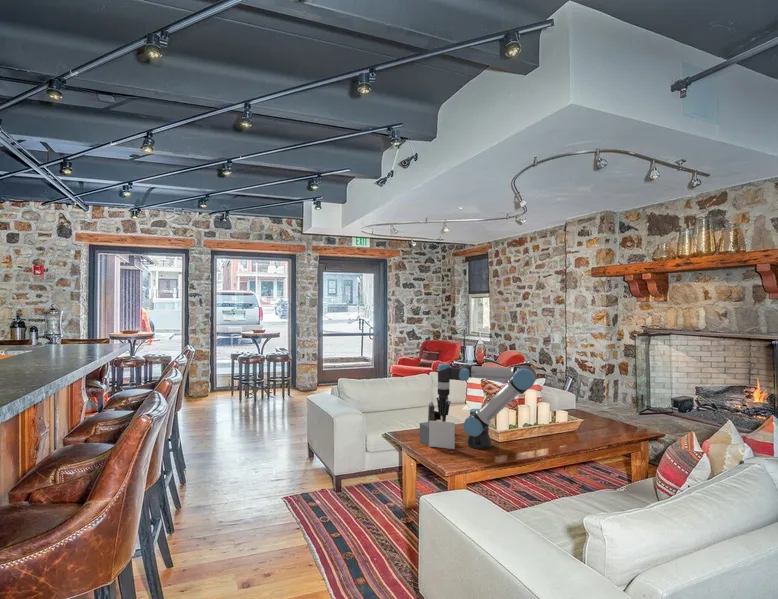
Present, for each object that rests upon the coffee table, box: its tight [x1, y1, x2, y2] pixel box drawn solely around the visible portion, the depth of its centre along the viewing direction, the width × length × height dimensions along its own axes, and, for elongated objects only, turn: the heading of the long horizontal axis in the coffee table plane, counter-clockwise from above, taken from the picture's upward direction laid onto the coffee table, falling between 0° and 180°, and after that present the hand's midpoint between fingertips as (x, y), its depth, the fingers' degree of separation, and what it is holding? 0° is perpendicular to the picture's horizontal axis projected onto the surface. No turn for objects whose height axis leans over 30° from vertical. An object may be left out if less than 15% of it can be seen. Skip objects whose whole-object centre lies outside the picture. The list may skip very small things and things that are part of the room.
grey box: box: [419, 420, 441, 448], centre depth 303 cm, size 12×18×13 cm
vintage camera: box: [427, 401, 441, 422], centre depth 328 cm, size 10×16×20 cm, turn 89°
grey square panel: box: [428, 421, 456, 450], centre depth 291 cm, size 16×1×16 cm, turn 72°
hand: (443, 425), depth 293 cm, fingers closed
